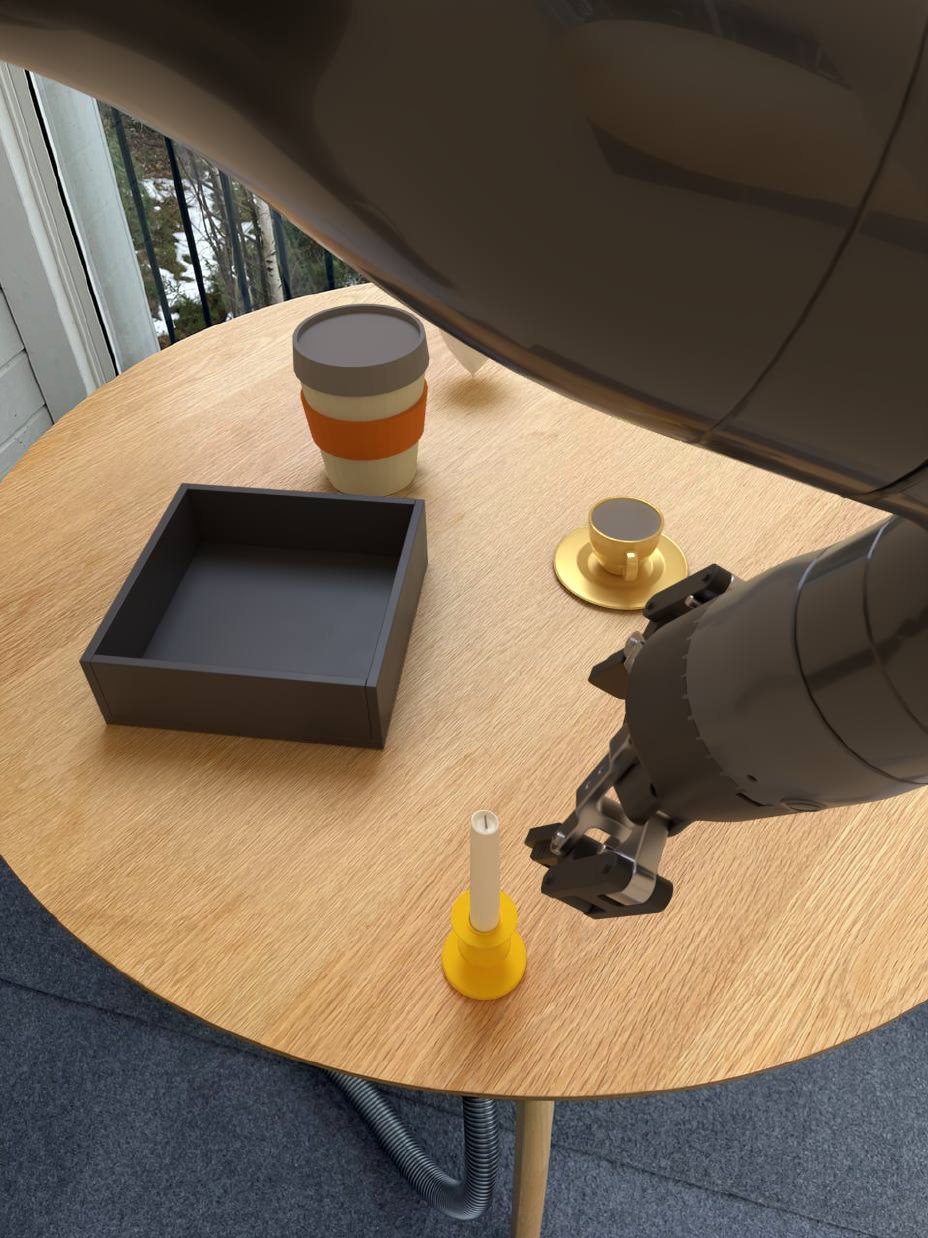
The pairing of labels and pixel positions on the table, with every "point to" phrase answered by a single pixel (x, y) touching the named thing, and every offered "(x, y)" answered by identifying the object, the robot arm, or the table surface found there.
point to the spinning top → (464, 354)
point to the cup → (620, 555)
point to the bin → (265, 616)
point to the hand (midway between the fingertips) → (575, 763)
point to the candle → (484, 923)
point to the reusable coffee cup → (364, 393)
